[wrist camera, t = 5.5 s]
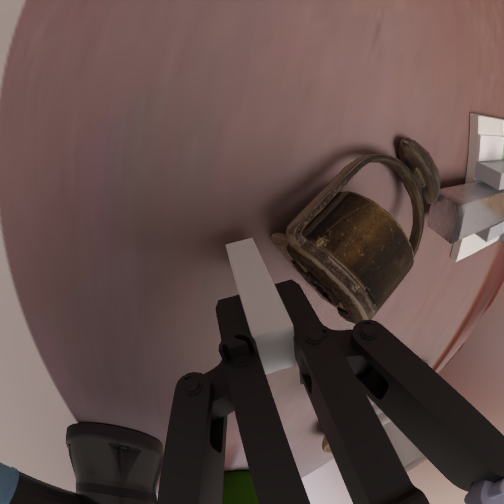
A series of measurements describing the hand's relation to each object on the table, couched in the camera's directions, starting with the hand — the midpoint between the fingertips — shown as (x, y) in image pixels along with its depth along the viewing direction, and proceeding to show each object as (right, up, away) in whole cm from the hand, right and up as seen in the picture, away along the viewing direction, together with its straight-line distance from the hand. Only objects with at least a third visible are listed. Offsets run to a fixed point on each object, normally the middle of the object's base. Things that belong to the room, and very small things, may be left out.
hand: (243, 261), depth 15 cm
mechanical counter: (+8, +3, +3) cm, 9 cm away
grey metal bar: (+18, +6, +2) cm, 20 cm away
